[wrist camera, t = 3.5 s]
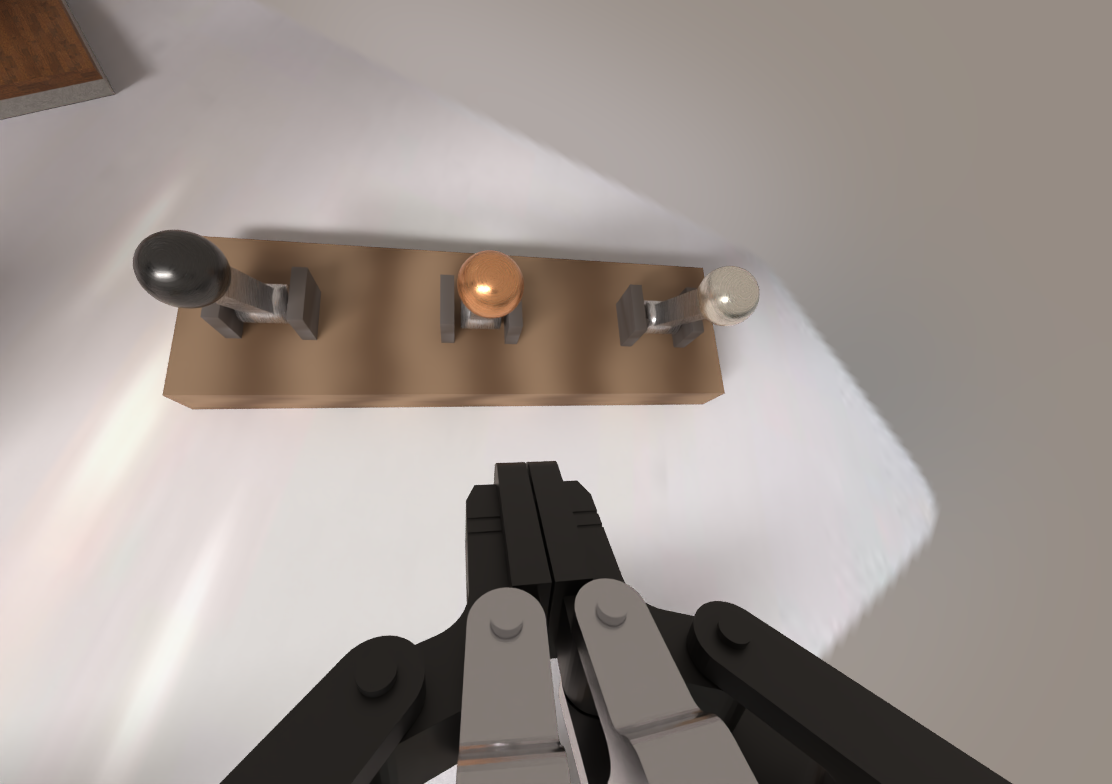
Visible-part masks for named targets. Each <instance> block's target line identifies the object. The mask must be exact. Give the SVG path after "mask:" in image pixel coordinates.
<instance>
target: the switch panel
mask: <svg viewBox="0 0 1112 784" xmlns="http://www.w3.org/2000/svg"><path fill="white" fill-rule="evenodd" d="M202 237H204V238H206V239H208V240H209V241H211V242H212V243H214V244H215V245H216V246H217V247H218V248H219V249H220V250H221V251H222V252H223V254H224V255H225V256H226V258H227V260H228V262H229V265H230V266H231V267H233V268H235V269H237V270H238V271H240V272H242V273H244V274H246V275H248V276H250V277H252V278H254V279H256V280H258V281H260V282H262V283H267V284H289V285H290V287H289V297H288V306H287V315H286V320H287V321H288V322H289V324H288V323H251V322H241V321H240V320H239V319H238V317H237V316H236V313H235V310H234V309H231V308H228V307H225V306H222V305H219V304H216V303H213V304H211V305H209V306H206V307H202V308H195V309H186V308H178V313H177V318H176V324H175V330H174V335H173V341H172V346H171V352H170V357H169V363H168V368H167V374H166V379H165V385H164V390H163V396H165V397H167V398H169V399H172V400H174V401H176V402H178V403H180V404H182V405H185V406H187V407H189V408H191V409H259V408H362V407H465V406H569V405H672V404H704V403H706V402H708V401H710V400H712V399H714V398H716V397H718V396H720V395H722V394H724V393H725V392H724V387H723V381H722V375H721V370H720V364H719V358H718V352H717V347H716V341H715V335H714V330H713V324H712V323H711V322H709V321H708V320H707V319H703V320H699V321H695V322H690V323H686V324H682V325H681V326H680V329H679V331H678V332H677V333H676V334H652V333H645V332H646V331H647V330H648V329H647V322H646V314H645V307H644V300H648V301H666V300H668V299H671V298H674V297H676V296H679V295H682V294H684V293H687V292H690V291H692V290H695V289H698V288H699V285H700V283H701V282H702V280H703V279H704V272H703V268H695V267H679V266H664V265H648V264H632V263H616V262H601V261H585V260H569V259H553V258H538V257H522V256H509V257H510V258H511V259H513V260H514V261H515V263H516V264H517V265H518V267H519V268H520V270H521V272H522V275H523V280H524V291H523V296H522V298H521V300H520V302H519V304H518V306H517V307H516V308H515V309H514V310H513V311H512V312H510V313H509V314H507V315H505V316H503V317H501V327H500V329H470V328H461V298H460V296H459V293H458V289H457V278H458V274H459V271H460V268H461V267H462V265H463V263H464V262H465V261H466V260H467V259H468V258H469V257H470V256H472V255H474V253H459V252H443V251H427V250H411V249H396V248H380V247H364V246H348V245H333V244H317V243H301V242H285V241H270V240H254V239H238V238H222V237H207V236H202Z"/></svg>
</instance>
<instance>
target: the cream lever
mask: <svg viewBox="0 0 1112 784" xmlns="http://www.w3.org/2000/svg"><path fill="white" fill-rule="evenodd" d="M758 301H759V287H758V284H757V282H756V280H755V278H754V277H753V276H752V275H751V274H750V273H749V272H748V271H746V270H744V269H742V268H740V267H735V266H725V267H721V268H718V269H716V270H714V271H712V272H710V273H709V274H708V275H707V276H706V277H705V278H704V279H703V280H702V282H701V283H700V285H699V288H698V289H695V290H692V291H690V292H687V293H684V294H682V295H679V296H676V297H674V298H671V299H668V300H666V301H648V300H644V307H645V314H646V322H647V329H648V330H647V331H646V332H645V333H652V334H676V333H677V332H678V331H679V329H680V326H681V325H682V324H686V323H690V322H695V321H699V320H703V319H707V320H708V321H709V322H711V323H713V324H716V325H719V326H732V325H736V324H739V323H741V322H743V321H744V320H746V319H747V318H748V317H749V316H750V315H751V314H752V313H753V312H754V310H755V308H756V307H757V304H758Z"/></svg>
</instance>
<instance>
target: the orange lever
mask: <svg viewBox="0 0 1112 784" xmlns="http://www.w3.org/2000/svg"><path fill="white" fill-rule="evenodd" d="M457 289H458V293H459V296H460V298H461V328H470V329H500V327H501V317H503V316H505V315H507V314H509V313H510V312H512V311H513V310H514V309H515V308H516V307H517V306H518V304H519V302H520V300H521V298H522V296H523V291H524V280H523V275H522V272H521V270H520V268H519V267H518V265H517V264H516V263H515V261H514V260H513V259H511V258H510V257H509V256H507V255H506V254H504V253H501V252H498V251H492V250H486V251H481V252H478V253H476V254H474V255H472V256H470V257H469V258H468V259H467V260H466V261H465V262H464V263H463V265H462V267H461V268H460V271H459V274H458V278H457Z"/></svg>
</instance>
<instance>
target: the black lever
mask: <svg viewBox="0 0 1112 784" xmlns="http://www.w3.org/2000/svg"><path fill="white" fill-rule="evenodd" d="M133 269H134V273H135V275H136V278H137V280H138V281H139V283H140V284H141V286H142V287H143V288H144V289H145V290H146V291H147V292H148V293H149V294H150V295H151V296H153V297H154V298H156V299H157V300H159V301H161V302H163V303H165V304H168V305H171V306H174V307H178V308H186V309H195V308H202V307H206V306H209V305H211V304H213V303H216V304H219V305H222V306H225V307H228V308H231V309H234V310H235V313H236V316H237V317H238V319H239V320H240V321H241V322H251V323H288V324H289V322H288V321H287V320H286V315H287V306H288V297H289V287H290V285H289V284H267V283H262V282H260V281H258V280H256V279H254V278H252V277H250V276H248V275H246V274H244V273H242V272H240V271H238V270H237V269H235V268H233V267H231V266H230V265H229V262H228V260H227V258H226V256H225V255H224V254H223V252H222V251H221V250H220V249H219V248H218V247H217V246H216V245H215V244H214V243H212V242H211V241H209V240H208V239H206V238H204V237H202V236H200V235H198V234H195V233H192V232H188V231H183V230H165V231H160V232H157V233H154V234H152V235H150V236H148V237H147V238H145V239H144V240H143V241H142V242H141V243H140V244H139V245H138V247H137V249H136V251H135V253H134V257H133Z"/></svg>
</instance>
